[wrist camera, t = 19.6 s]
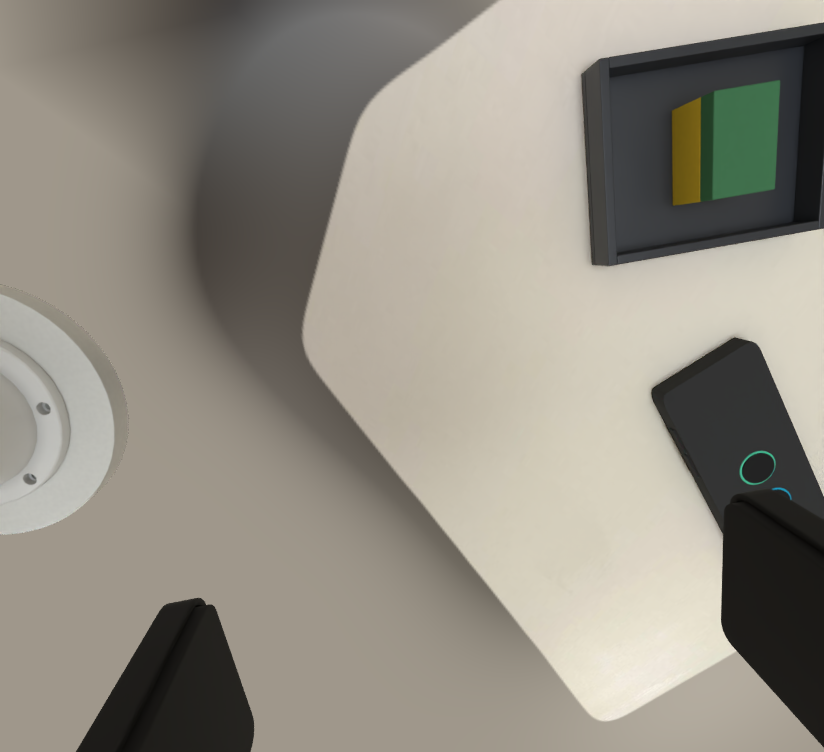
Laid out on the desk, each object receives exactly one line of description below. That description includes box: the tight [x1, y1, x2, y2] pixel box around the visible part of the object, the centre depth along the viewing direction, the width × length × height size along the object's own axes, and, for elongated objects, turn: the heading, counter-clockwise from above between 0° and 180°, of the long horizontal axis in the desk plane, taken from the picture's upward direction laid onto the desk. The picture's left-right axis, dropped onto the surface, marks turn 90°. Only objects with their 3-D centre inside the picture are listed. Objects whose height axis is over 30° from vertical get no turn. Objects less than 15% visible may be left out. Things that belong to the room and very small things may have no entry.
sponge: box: [672, 80, 780, 206], centre depth 29 cm, size 6×4×4 cm, turn 10°
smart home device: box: [652, 338, 824, 533], centre depth 38 cm, size 8×2×20 cm
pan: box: [582, 23, 824, 266], centre depth 31 cm, size 15×12×2 cm
